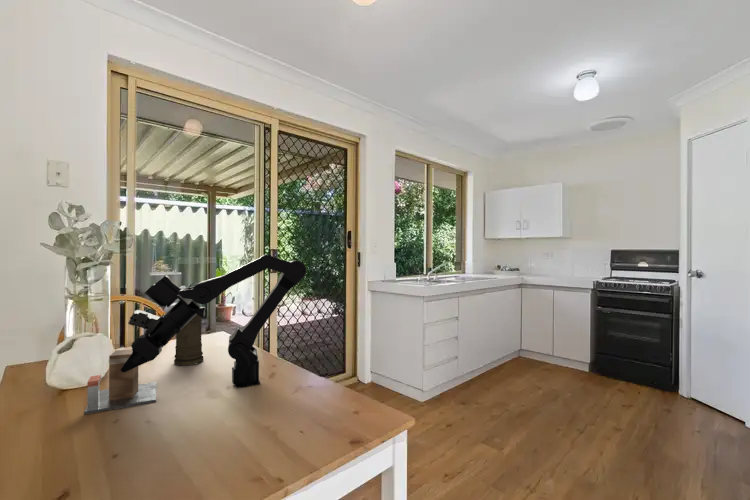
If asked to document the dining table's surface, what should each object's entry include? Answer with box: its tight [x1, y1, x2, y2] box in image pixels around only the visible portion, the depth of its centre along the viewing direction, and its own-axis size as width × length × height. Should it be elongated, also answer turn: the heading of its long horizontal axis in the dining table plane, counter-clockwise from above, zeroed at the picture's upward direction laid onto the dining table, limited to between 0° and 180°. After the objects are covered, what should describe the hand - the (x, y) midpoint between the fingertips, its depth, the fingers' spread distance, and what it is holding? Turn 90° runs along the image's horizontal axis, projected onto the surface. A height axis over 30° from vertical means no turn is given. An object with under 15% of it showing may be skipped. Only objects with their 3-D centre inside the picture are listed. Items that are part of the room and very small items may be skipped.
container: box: [173, 314, 204, 367], centre depth 121 cm, size 9×9×18 cm
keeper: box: [83, 374, 158, 416], centre depth 92 cm, size 14×14×7 cm
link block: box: [108, 348, 139, 400], centre depth 92 cm, size 5×5×11 cm
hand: (127, 365), depth 92 cm, fingers open, 9 cm apart
